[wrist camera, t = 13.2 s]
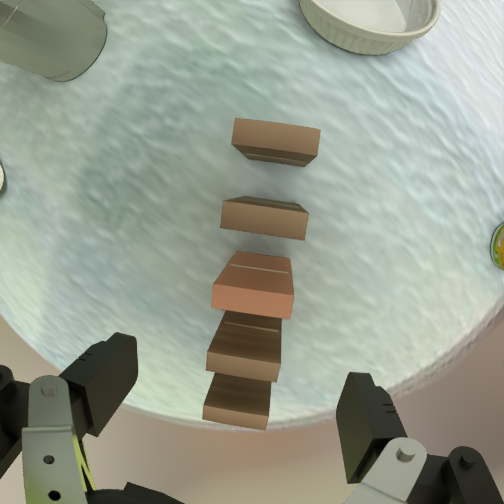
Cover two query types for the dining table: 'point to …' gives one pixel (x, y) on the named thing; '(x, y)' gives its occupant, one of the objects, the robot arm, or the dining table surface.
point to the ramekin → (371, 22)
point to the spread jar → (1, 177)
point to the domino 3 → (255, 285)
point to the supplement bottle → (498, 247)
